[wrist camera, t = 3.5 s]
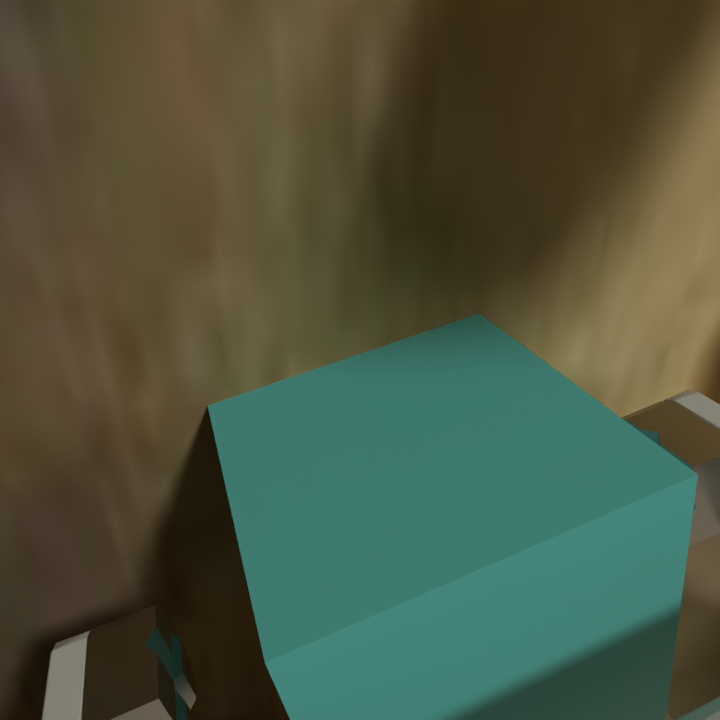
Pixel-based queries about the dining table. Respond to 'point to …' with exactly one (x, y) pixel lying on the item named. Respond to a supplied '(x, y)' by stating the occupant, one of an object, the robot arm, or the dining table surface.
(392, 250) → the dining table surface
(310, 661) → the teal block
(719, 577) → the maple block
